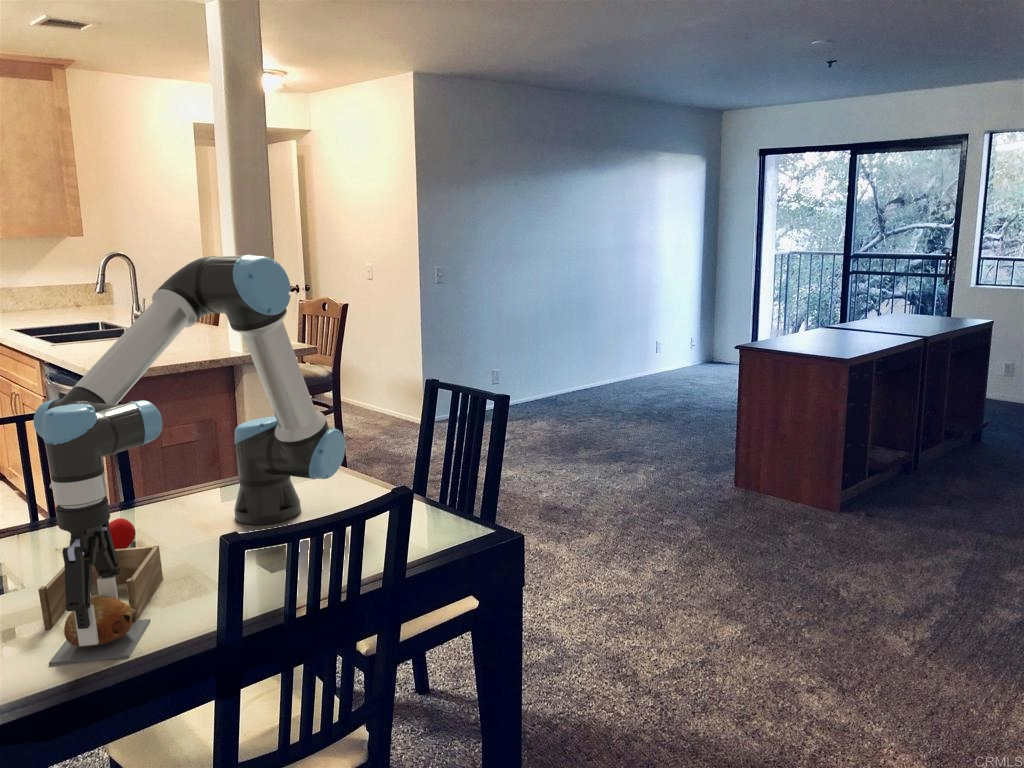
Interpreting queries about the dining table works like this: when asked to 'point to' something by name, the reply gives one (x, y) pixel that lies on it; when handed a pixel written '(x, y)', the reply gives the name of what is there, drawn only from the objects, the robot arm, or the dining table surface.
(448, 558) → the dining table surface
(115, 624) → the bread roll
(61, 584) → the box
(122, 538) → the red heart shape
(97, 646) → the slate board
